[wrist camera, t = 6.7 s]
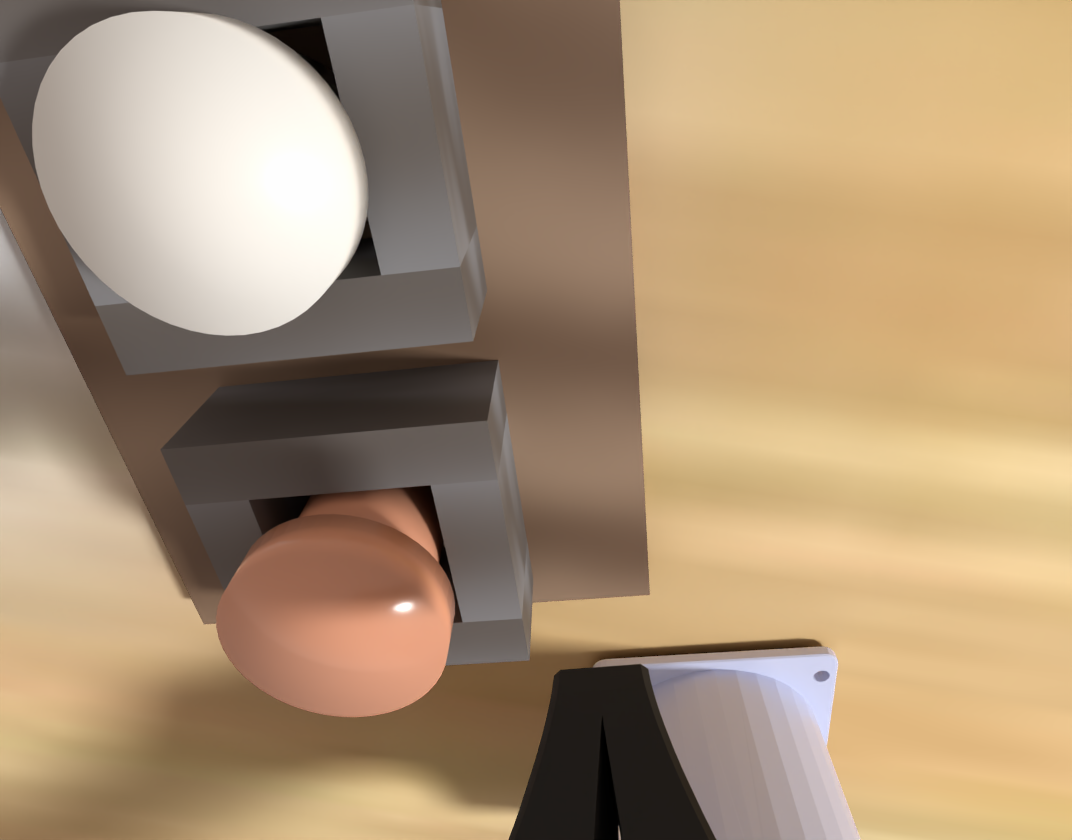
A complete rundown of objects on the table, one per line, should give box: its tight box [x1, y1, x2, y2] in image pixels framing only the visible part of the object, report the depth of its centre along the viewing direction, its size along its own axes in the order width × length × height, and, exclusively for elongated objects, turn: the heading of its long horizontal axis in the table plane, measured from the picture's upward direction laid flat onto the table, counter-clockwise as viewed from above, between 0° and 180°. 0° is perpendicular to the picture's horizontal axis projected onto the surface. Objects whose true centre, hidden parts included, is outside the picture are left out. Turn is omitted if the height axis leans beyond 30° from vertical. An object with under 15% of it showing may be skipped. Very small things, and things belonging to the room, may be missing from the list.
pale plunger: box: [32, 11, 368, 336], centre depth 13 cm, size 5×5×4 cm
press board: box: [0, 0, 650, 665], centre depth 16 cm, size 18×14×4 cm
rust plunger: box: [216, 485, 455, 717], centre depth 16 cm, size 5×5×4 cm
